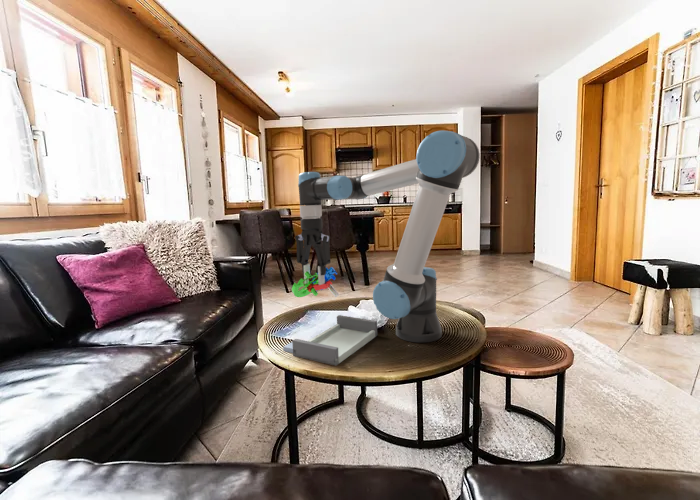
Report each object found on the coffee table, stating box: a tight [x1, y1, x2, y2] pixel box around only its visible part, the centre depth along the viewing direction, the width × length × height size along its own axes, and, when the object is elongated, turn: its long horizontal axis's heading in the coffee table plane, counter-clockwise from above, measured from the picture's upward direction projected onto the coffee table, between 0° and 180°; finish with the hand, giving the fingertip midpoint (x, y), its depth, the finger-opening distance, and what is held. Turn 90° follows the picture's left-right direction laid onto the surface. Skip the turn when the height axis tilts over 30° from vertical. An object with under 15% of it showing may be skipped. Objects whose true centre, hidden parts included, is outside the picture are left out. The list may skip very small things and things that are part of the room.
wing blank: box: [282, 338, 306, 354], centre depth 112 cm, size 7×4×2 cm, turn 148°
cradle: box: [291, 314, 378, 367], centre depth 114 cm, size 15×26×5 cm, turn 150°
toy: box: [291, 266, 340, 298], centre depth 128 cm, size 20×10×11 cm
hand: (314, 283), depth 128 cm, fingers closed on toy, 5 cm apart
